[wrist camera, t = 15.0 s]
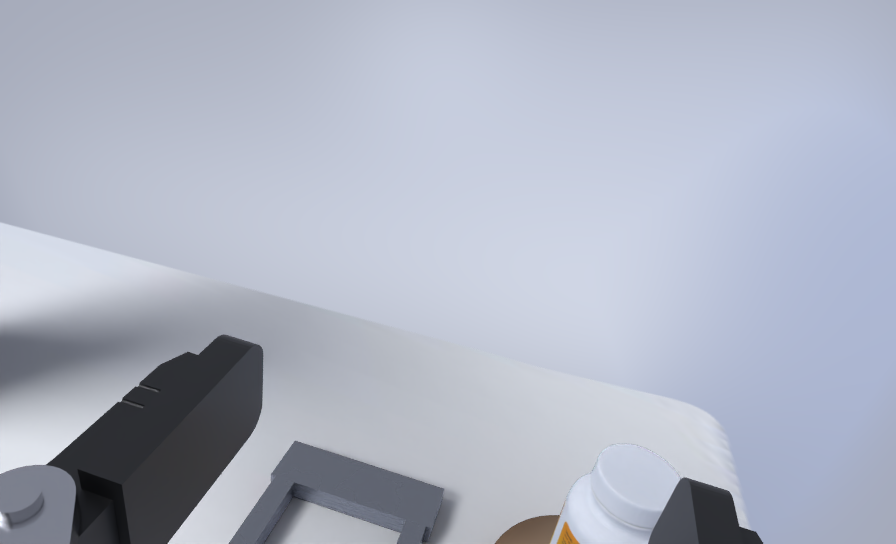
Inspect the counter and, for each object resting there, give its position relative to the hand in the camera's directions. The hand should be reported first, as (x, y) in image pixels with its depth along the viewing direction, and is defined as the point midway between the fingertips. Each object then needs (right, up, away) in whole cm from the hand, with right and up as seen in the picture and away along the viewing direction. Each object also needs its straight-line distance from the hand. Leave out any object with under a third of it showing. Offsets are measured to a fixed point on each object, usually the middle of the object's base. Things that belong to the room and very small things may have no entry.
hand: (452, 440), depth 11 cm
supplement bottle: (+7, -15, +21) cm, 26 cm away
